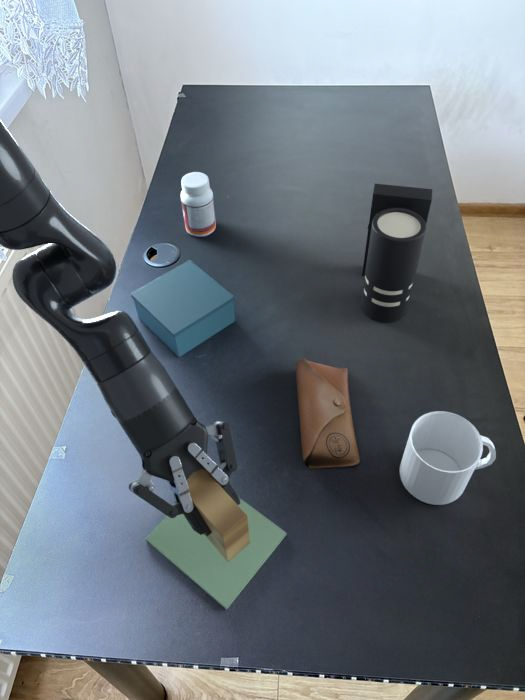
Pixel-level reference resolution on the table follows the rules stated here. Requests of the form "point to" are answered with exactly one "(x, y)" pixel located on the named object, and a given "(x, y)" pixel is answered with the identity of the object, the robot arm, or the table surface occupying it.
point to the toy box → (184, 307)
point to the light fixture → (393, 249)
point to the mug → (442, 457)
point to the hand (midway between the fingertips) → (221, 521)
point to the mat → (216, 554)
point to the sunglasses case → (325, 416)
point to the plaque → (219, 514)
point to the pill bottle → (197, 204)
